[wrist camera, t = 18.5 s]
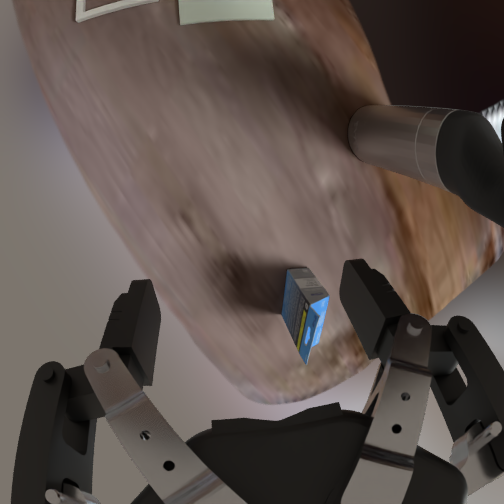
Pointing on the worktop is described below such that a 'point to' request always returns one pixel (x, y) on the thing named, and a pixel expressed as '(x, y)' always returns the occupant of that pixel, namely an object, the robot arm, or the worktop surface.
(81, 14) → the white square frame
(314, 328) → the label tape box
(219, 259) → the worktop surface
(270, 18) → the mat
